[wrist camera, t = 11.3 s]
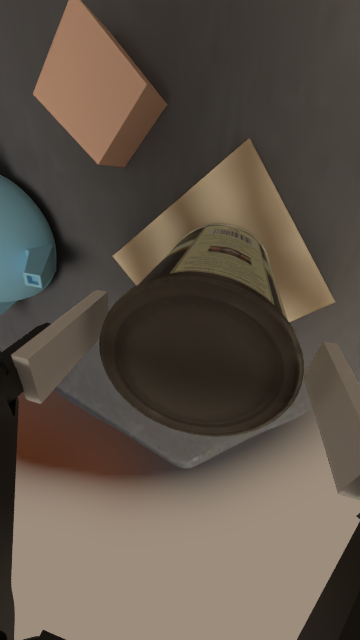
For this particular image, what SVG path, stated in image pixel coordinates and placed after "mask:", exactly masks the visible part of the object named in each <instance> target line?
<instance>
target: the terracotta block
mask: <svg viewBox="0 0 360 640" xmlns="http://www.w3.org/2000/svg"><path fill="white" fill-rule="evenodd" d="M33 95H34V96H35V97H36V98H37V99H38V100H39V101H40V102H41V103H42V104H43V105H44V106H45V108H46V109H47V110H48V111H49V112H50V113H51V114H52V115H53V116H54V117H55V118H56V120H57V121H58V122H59V123H60V124H61V125H62V126H63V127H64V128H65V129H66V130H67V131H68V133H69V134H70V135H71V136H72V137H73V138H74V139H75V140H76V141H77V142H78V143H79V144H80V146H81V147H82V148H83V149H84V150H85V151H86V152H87V153H88V154H89V155H90V156H91V157H92V159H93V160H94V161H95V162H96V163H97V164H98V165H106V166H116V167H125V166H126V165H127V163H128V162H129V160H130V159H131V157H132V156H133V154H134V153H135V151H136V150H137V149H138V147H139V146H140V144H141V143H142V141H143V140H144V138H145V137H146V135H147V134H148V132H149V131H150V129H151V128H152V126H153V125H154V123H155V122H156V121H157V119H158V118H159V116H160V115H161V113H162V112H163V110H164V109H165V107H166V106H167V104H166V102H165V101H164V100H163V99H162V97H161V96H160V95H159V94H158V92H157V91H156V90H155V88H154V87H153V86H152V85H151V83H150V82H149V81H148V80H147V78H146V77H145V76H144V75H143V73H142V72H141V71H140V69H139V68H138V67H137V66H136V64H135V63H134V62H133V61H132V59H131V58H130V57H129V56H128V54H127V53H126V52H125V50H124V49H123V48H122V47H121V45H120V44H119V43H118V42H117V40H116V39H115V38H114V37H113V35H112V34H111V33H110V32H109V31H108V30H107V28H106V27H105V26H104V25H103V24H102V23H101V22H100V21H99V20H98V18H97V17H96V16H95V15H94V14H93V13H92V12H91V11H90V10H89V8H88V7H87V6H86V5H85V4H84V3H83V2H82V1H81V0H69V1H68V3H67V6H66V9H65V11H64V14H63V16H62V19H61V22H60V24H59V27H58V30H57V32H56V35H55V37H54V40H53V43H52V45H51V48H50V50H49V53H48V56H47V58H46V61H45V63H44V66H43V69H42V71H41V74H40V76H39V79H38V82H37V84H36V87H35V90H34V92H33Z"/></svg>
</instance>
